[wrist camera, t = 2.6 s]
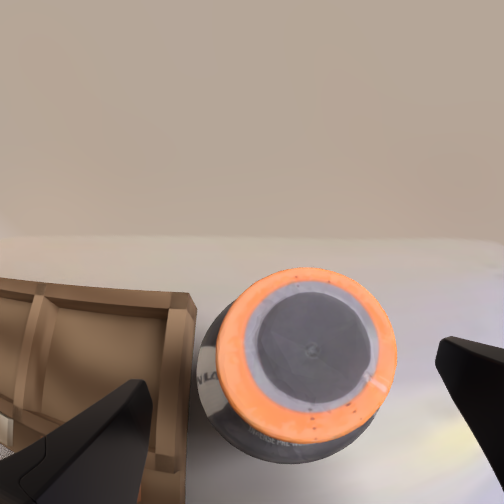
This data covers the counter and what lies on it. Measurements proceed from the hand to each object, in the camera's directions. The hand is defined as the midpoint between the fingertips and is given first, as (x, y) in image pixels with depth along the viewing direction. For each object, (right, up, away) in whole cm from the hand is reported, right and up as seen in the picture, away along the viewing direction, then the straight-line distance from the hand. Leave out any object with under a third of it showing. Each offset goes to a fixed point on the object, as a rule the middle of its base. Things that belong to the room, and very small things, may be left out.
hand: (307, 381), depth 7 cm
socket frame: (-16, -5, +8) cm, 19 cm away
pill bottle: (0, -4, +8) cm, 9 cm away
